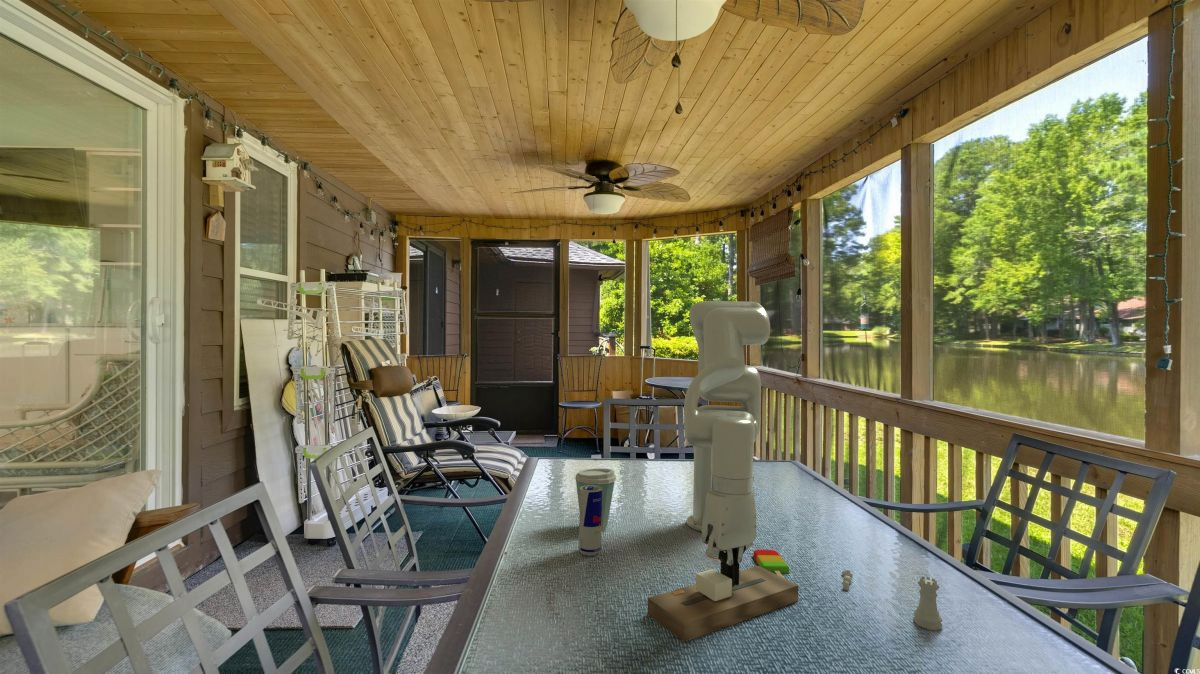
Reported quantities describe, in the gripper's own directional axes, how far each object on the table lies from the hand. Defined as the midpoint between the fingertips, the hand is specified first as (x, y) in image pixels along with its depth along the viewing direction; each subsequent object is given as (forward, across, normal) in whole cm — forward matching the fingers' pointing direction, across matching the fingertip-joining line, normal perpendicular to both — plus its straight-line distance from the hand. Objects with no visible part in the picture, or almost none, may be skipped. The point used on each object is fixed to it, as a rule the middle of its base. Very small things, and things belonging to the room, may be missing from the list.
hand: (729, 582), depth 102 cm
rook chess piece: (+5, -26, +22) cm, 34 cm away
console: (+4, +1, 0) cm, 5 cm away
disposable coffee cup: (+5, +1, -47) cm, 47 cm away
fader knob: (+1, +4, 0) cm, 4 cm away
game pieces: (+5, -28, +5) cm, 29 cm away
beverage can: (+5, +10, -34) cm, 36 cm away
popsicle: (+5, -20, -7) cm, 22 cm away
